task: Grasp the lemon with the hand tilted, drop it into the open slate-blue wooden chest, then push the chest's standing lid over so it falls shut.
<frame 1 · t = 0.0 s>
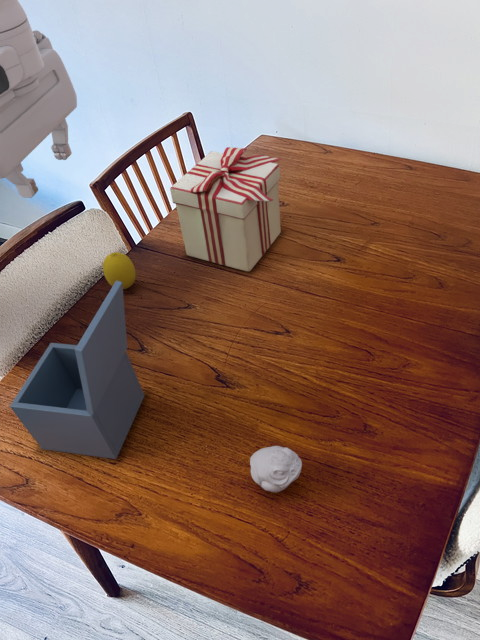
hand: (48, 175, 67), 30 cm above the table, tool pointing down, fingers open, 8 cm apart
gift box: (242, 244, 105), on the table
lemon: (126, 289, 98), on the table
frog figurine: (277, 483, 69), on the table
chest: (95, 421, 78), on the table
chest lid: (104, 348, 64), point 17 cm above the table, hinge at 104.0°
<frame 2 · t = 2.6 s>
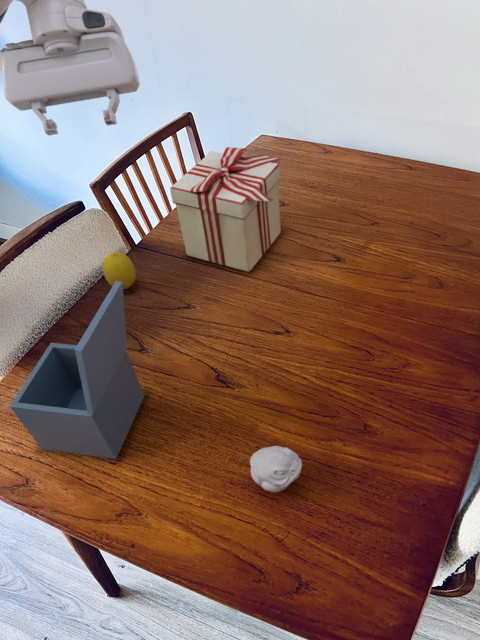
hand: (81, 128, 81), 27 cm above the table, tool tilted 40°, fingers open, 8 cm apart
nothing on the table moved.
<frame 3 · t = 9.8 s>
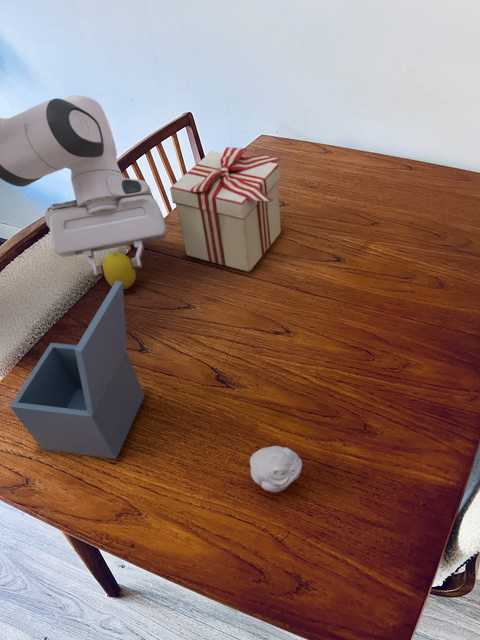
hand: (119, 271, 94), 4 cm above the table, tool tilted 45°, fingers closed on lemon, 5 cm apart
lemon: (126, 289, 98), on the table, touching gripper
everything else where it was.
when the fingers open (10 cm above the table, at t = 20.5 s): lemon drops 4 cm, resting on chest.
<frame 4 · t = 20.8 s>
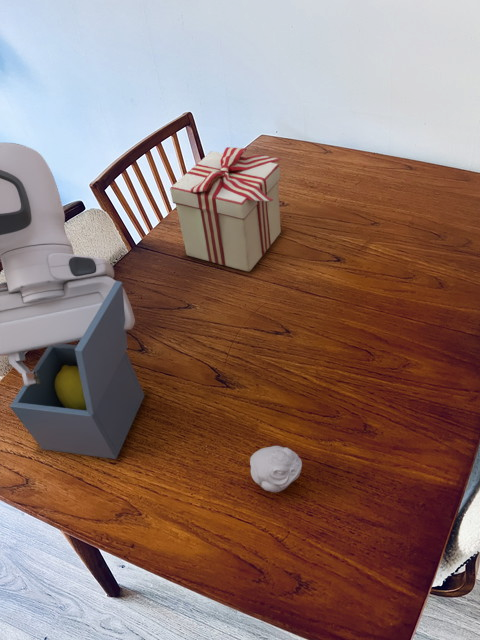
hand: (68, 378, 69), 11 cm above the table, tool tilted 45°, fingers open, 8 cm apart
lemon: (90, 414, 77), point 1 cm above the table, touching chest
everything else where it was.
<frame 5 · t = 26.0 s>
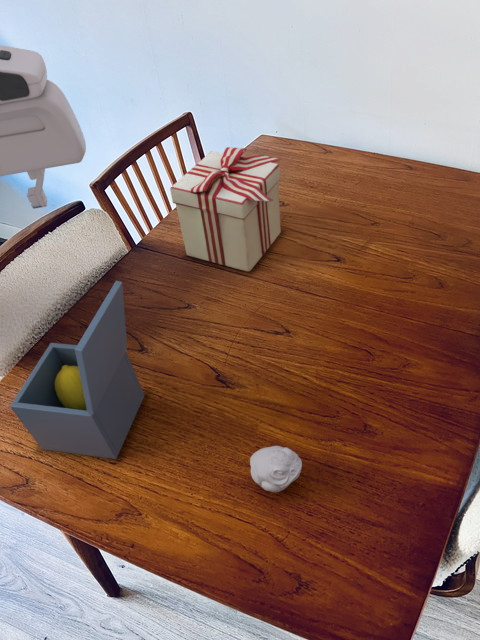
hand: (13, 210, 59), 31 cm above the table, tool pointing down, fingers open, 5 cm apart
nothing on the table moved.
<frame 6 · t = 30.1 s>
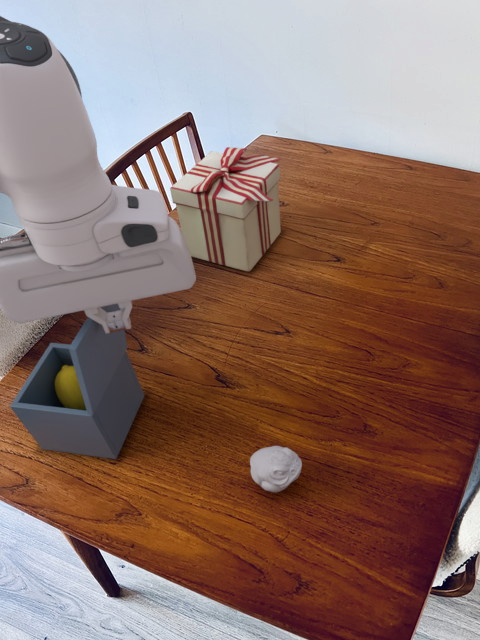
hand: (118, 327, 60), 21 cm above the table, tool pointing down, fingers closed
chest lid: (101, 348, 64), point 17 cm above the table, hinge at 100.9°, touching gripper
everything else where it was.
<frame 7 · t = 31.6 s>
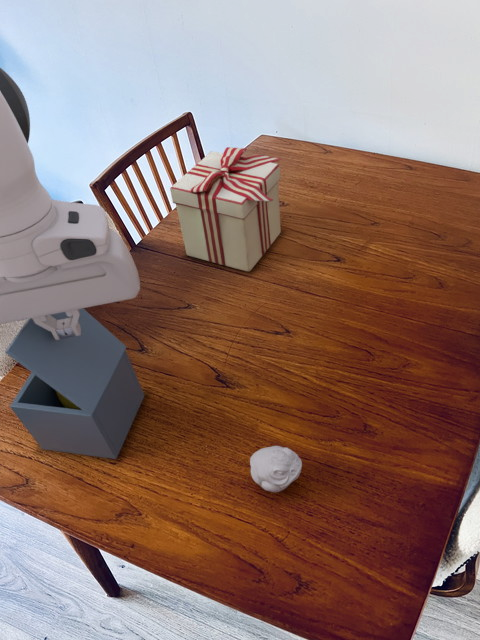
hand: (68, 334, 63), 19 cm above the table, tool pointing down, fingers closed
chest lid: (72, 349, 65), point 16 cm above the table, hinge at 59.4°
everything else where it was.
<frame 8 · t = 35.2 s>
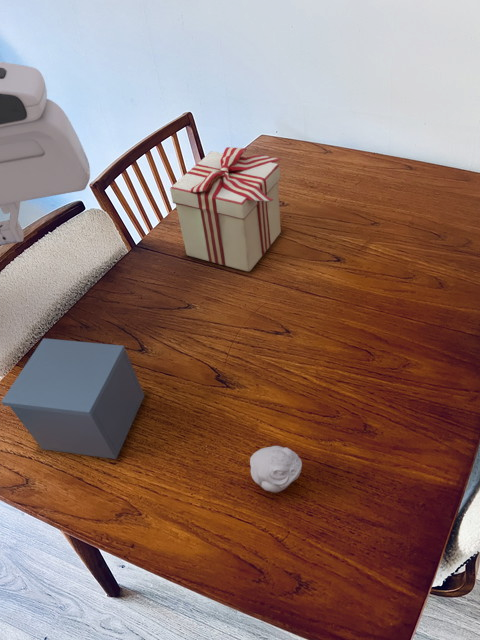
hand: (9, 241, 53), 32 cm above the table, tool pointing down, fingers closed
chest lid: (65, 374, 70), point 11 cm above the table, hinge at -0.2°
everything else where it was.
at the end: lemon inside the target area in the chest (0.2 cm from its centre), point 1.5 cm above the chest's base; chest lid at +0° (first picture: +104°); the gripper is holding nothing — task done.
